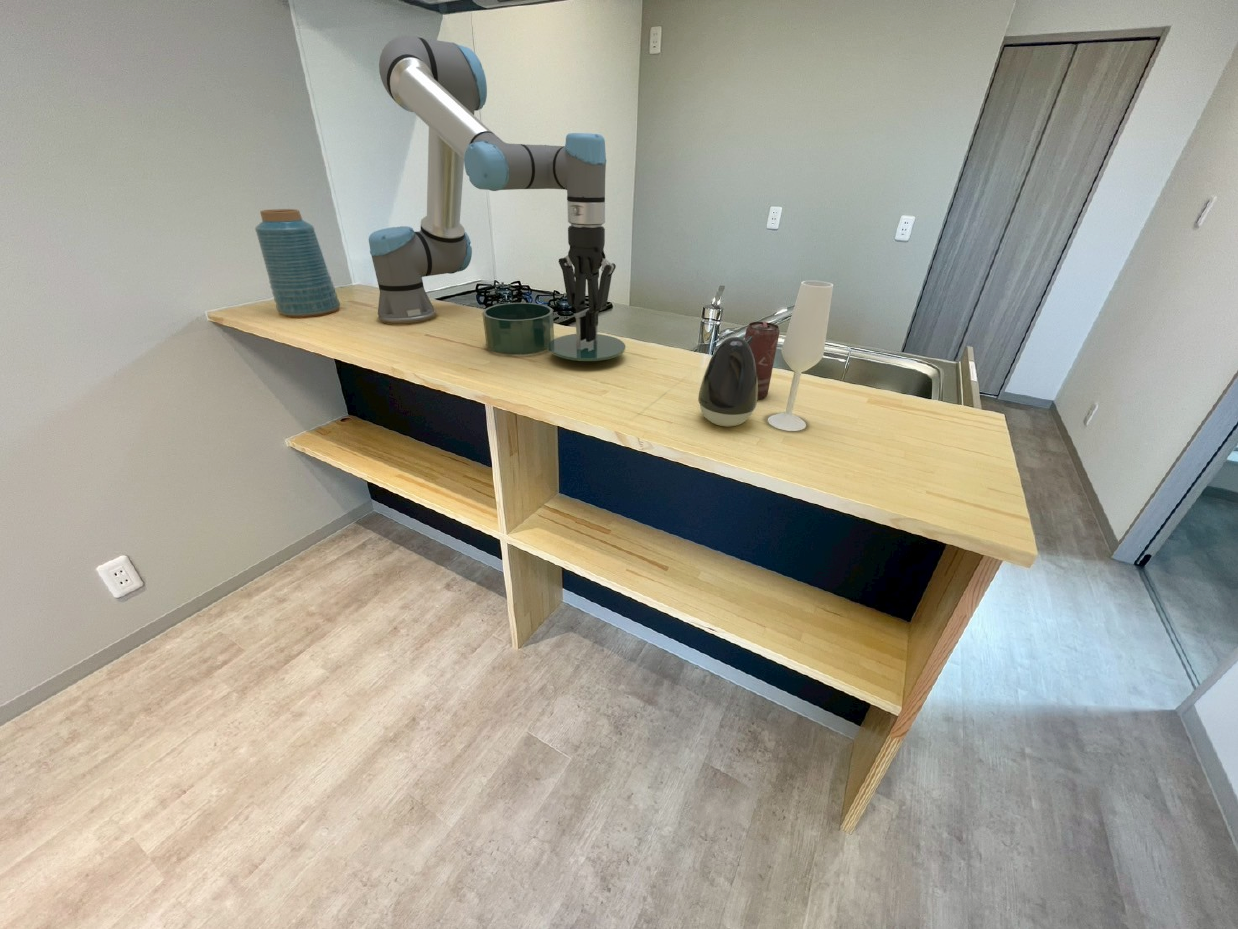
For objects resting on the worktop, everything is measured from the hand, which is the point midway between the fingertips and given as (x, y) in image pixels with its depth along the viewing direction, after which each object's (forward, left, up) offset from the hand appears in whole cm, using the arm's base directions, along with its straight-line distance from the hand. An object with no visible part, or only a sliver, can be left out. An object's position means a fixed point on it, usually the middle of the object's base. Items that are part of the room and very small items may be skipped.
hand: (587, 339), depth 112 cm
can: (+30, +24, -5) cm, 39 cm away
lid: (0, 0, -2) cm, 2 cm away
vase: (-69, -62, -5) cm, 93 cm away
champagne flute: (+43, +22, -5) cm, 49 cm away
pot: (-16, -12, -5) cm, 20 cm away
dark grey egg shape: (+38, +12, -5) cm, 40 cm away
